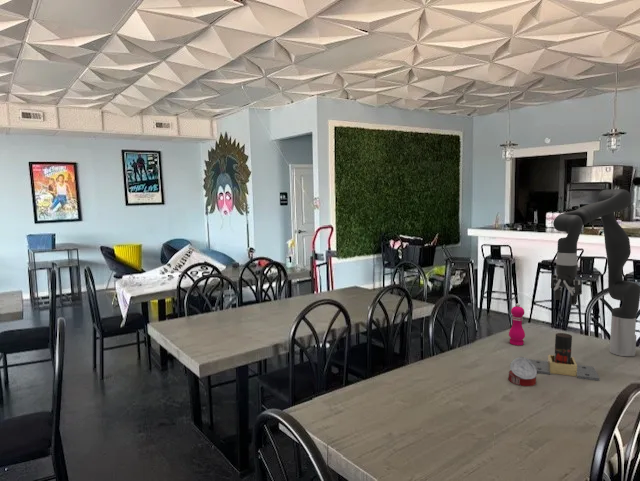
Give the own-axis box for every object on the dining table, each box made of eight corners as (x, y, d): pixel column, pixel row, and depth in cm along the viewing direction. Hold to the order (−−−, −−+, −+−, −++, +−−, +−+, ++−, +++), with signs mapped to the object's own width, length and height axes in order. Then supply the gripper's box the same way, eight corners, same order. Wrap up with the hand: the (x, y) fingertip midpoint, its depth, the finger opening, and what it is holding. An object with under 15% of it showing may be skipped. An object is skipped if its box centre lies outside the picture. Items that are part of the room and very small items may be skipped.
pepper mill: (526, 346, 218) (527, 305, 216) (510, 345, 219) (511, 304, 217) (522, 341, 225) (524, 301, 223) (507, 340, 226) (508, 301, 224)
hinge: (593, 368, 190) (593, 358, 189) (599, 380, 178) (599, 369, 177) (528, 361, 199) (528, 351, 199) (529, 372, 187) (529, 361, 187)
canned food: (532, 390, 180) (547, 371, 177) (523, 396, 173) (538, 376, 170) (508, 371, 187) (521, 352, 184) (498, 375, 180) (512, 356, 176)
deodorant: (550, 368, 191) (552, 333, 189) (564, 367, 192) (566, 332, 190) (559, 373, 185) (561, 337, 184) (573, 373, 186) (575, 337, 184)
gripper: (588, 265, 181) (586, 305, 183) (561, 260, 195) (560, 297, 197) (572, 266, 180) (571, 306, 181) (546, 261, 193) (545, 298, 195)
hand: (565, 301), depth 189 cm, fingers open, 8 cm apart
